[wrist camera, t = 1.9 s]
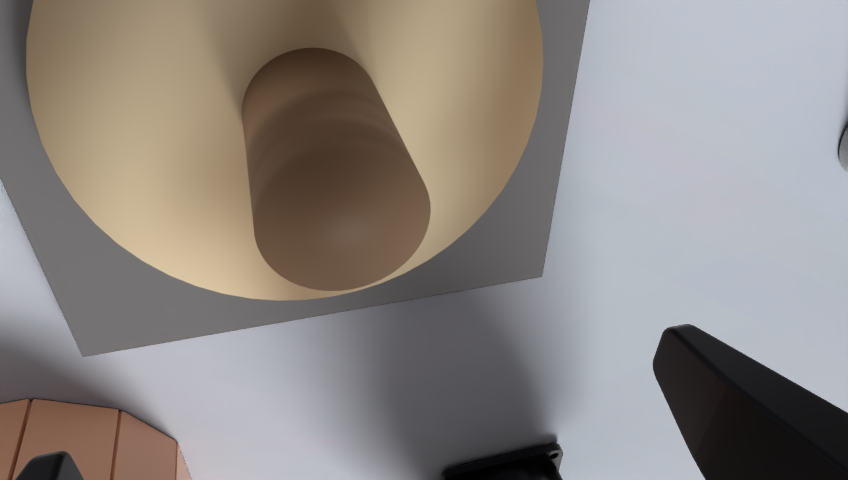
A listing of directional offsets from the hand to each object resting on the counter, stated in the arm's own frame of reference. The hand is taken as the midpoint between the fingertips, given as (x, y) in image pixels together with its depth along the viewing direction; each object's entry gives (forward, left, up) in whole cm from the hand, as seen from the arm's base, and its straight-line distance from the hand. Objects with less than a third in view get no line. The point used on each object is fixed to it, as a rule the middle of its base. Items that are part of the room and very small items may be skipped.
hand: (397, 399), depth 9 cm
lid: (0, 0, -10) cm, 10 cm away
